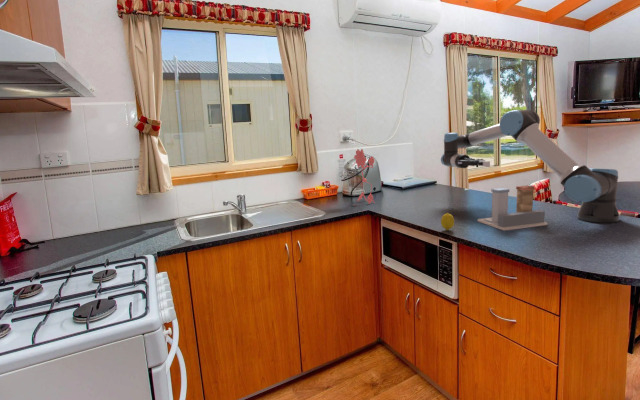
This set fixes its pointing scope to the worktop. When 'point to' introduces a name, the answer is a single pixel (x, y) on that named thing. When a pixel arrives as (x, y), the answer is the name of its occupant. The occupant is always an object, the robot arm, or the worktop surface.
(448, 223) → the lemon
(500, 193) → the grey tall block
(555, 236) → the worktop surface
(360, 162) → the red flowering branch
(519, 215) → the switch base
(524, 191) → the beige wooden tall block
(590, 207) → the robot arm
